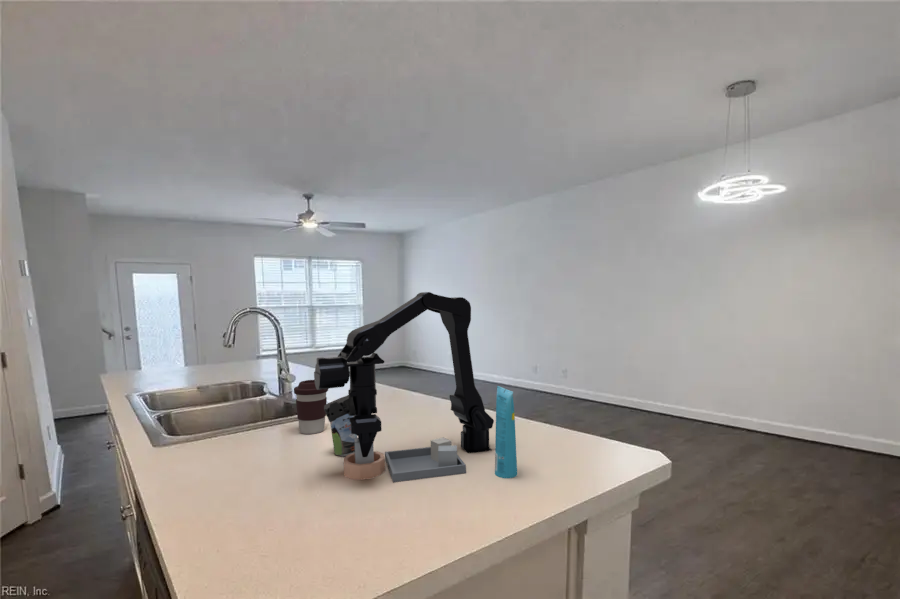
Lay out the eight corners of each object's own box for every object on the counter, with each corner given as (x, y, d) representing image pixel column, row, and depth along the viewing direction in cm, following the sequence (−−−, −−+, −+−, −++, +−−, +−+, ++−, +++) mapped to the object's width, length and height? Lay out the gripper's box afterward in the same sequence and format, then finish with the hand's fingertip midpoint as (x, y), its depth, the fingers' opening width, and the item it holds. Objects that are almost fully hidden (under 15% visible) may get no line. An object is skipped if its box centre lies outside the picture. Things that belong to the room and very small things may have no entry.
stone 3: (457, 465, 102) (456, 445, 102) (457, 471, 98) (457, 450, 98) (439, 465, 102) (438, 445, 102) (438, 471, 98) (438, 451, 98)
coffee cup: (310, 438, 126) (309, 385, 126) (287, 433, 131) (286, 382, 131) (335, 429, 135) (335, 380, 135) (313, 424, 140) (313, 377, 140)
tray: (449, 453, 111) (449, 444, 111) (466, 475, 97) (465, 464, 97) (385, 461, 107) (385, 451, 107) (393, 484, 93) (392, 473, 93)
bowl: (382, 463, 105) (381, 449, 105) (386, 478, 96) (386, 462, 96) (343, 468, 103) (343, 453, 103) (344, 483, 94) (344, 467, 94)
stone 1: (372, 457, 102) (371, 436, 102) (373, 463, 98) (373, 440, 98) (354, 459, 101) (354, 438, 101) (355, 465, 97) (355, 442, 97)
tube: (524, 479, 94) (523, 390, 94) (505, 484, 92) (504, 392, 92) (505, 468, 101) (504, 384, 101) (487, 472, 99) (486, 386, 99)
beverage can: (352, 459, 108) (351, 411, 108) (325, 458, 110) (324, 410, 110) (362, 451, 114) (362, 405, 114) (336, 449, 116) (335, 404, 116)
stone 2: (443, 455, 109) (443, 437, 109) (451, 458, 106) (451, 440, 106) (430, 458, 107) (430, 440, 107) (438, 462, 104) (438, 443, 104)
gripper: (326, 379, 106) (327, 444, 106) (325, 395, 88) (326, 473, 88) (372, 377, 109) (374, 439, 109) (381, 391, 91) (382, 466, 91)
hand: (364, 453), depth 100 cm, fingers open, 4 cm apart
